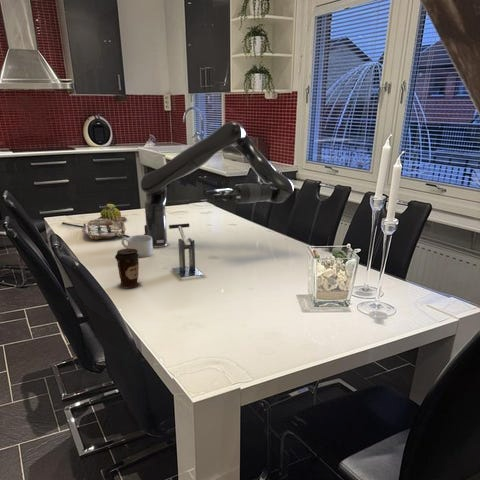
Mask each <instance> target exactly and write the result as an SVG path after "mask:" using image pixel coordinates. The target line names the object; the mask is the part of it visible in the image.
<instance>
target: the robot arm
mask: <svg viewBox="0 0 480 480" xmlns="http://www.w3.org/2000/svg"><path fill="white" fill-rule="evenodd" d="M228 147H233V148H235V150H237V151H238V152H240V154H241V155H242V156H243V157H244V159H245V160H246V161H247V162H248V164H249V165H250V167H251V169H252V170H253V171H254V173H255V174H256V175H257V176H258V178H259V179H260V180H261V181H262V182H263V183H240V184H235V185H234V186H233V189H232V188H215V189H214V190H206V191H205V197H207V198H211V197H212V199H213V201H224V202H225V201H226V202H235V203H236V204H238V205H239V204H241V205H242V204H251V203H252V204H254V203H257V202H258V203H259V202H260V203H261V202H269V203H273V204H282V203H285V202H286V201H287V200H289V198H290V196H291V195H292V194H293V193H294V189H295V187H294V185H293V183H292V181H291V180H290V179H289V178H287V176H285V175H284V174H282V173H280V172H279V171H277V170H276V168H275V167H274V166H273V165H272V163H271V162H270V161H269V160H268V159H267V158H266V157H265V156H264V155H263V154H262V152H260V150H259V149H258V148H257V147H256V145H255V144H254V142H253V141H252V139H251V138H250V136H249V135H248V133H247V131H246V130H245V128H244V126H243V125H242V124H240V123H238V122H237V121H235V120H234V121H233V120H232V121H231V120H230V121H226V123H224V124H223V125H221V126H220V127H219V128H217V129H216V130H215V131H213V133H212V134H209V136H206V137H205V138H202V139H201V140H199V141H198V142H196V143H195V144H193V145H191V146H189V147H187V148H186V149H185V150H182V151H181V152H180V153H178V154H177V155H176V156H174V157H172V159H170V160H169V161H168V162H167V163H165V164H164V165H162V166H160V167H159V168H157V169H155V170H153V171H150V172H148V173H145V174H144V175H143V176H142V178H141V180H140V188H141V190H142V192H144V194H146V198H145V201H144V214H145V215H144V216H145V224H144V233H143V235H148V236H151V237H152V245H153V248H165V247H167V246H168V231H167V230H168V229H167V214H166V203H167V185H169V184H170V183H172V182H173V181H176V180H178V179H181V178H183V177H185V176H187V175H190V174H191V173H193V172H195V171H196V170H198V169H199V168H201V167H203V166H205V164H206V163H208V162H209V160H210V159H212V157H214V155H216V154H218V152H220V151H222V150H223V149H226V148H228ZM271 184H272V185H273V186H275V187H272V186H271ZM61 225H64V226H65V225H66V226H71V227H76V228H82V229H83V228H84V225H81V224H74V223H68V222H61ZM98 229H99V228H98ZM99 230H100V229H99ZM108 232H110V233H111V231H109V230H108ZM131 236H132V235H131ZM131 236H130V235H127V234H124V235H122V236H121V237H124V238H125V237H126V238H129V237H131Z"/></svg>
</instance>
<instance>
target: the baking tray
mask: <svg viewBox="0 0 480 480" xmlns="http://www.w3.org/2000/svg"><path fill="white" fill-rule="evenodd" d="M83 226H84V228H82V230H81V232H83V233H84V234H86V235H87V236H88V237H89V238H90V239H91V240H97V241H98V240H107V239H114V238H115V237H117V238H118V239H119V238H121V237H123V236H122V235H126V232H125V231H127V228H126V226H125V221H119V222H117V223H116V222H114V221H112V220H111V219H98V218H96V219H92V220H89V222H86V223H83ZM98 228H99V229H100V230H99V229H98ZM108 230H109V231H111V233H110V232H108Z"/></svg>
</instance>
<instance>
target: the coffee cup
mask: <svg viewBox="0 0 480 480" xmlns="http://www.w3.org/2000/svg"><path fill="white" fill-rule="evenodd" d="M137 252H138V251H137V250H136V249H129V248H121V249H118V250H117V251H116V254H115V255H114V258H115V260H116V263H117V270H118V275H119V279H120V287H121V288H125V289H131V288H132V289H133V288H136V287H138V286H139V282H138V280H139V274H140V273H139V271H140V270H139V268H140V267H139V266H140V264H139V263H140V262H139V258H138V257H139V254H138V253H137Z"/></svg>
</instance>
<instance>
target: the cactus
mask: <svg viewBox="0 0 480 480" xmlns="http://www.w3.org/2000/svg"><path fill="white" fill-rule="evenodd" d="M97 219H111V220H112V221H114V222H116V223H117V222H119V221H123V222H125V221H126V220H127V217H126V216H122V213H121V211H120V210H119V209H118V208H116V205H115V204H113V203H107V204H106V207H104V208H103V209H102V210H101V211H100V216H99V217H98V218H97Z"/></svg>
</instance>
